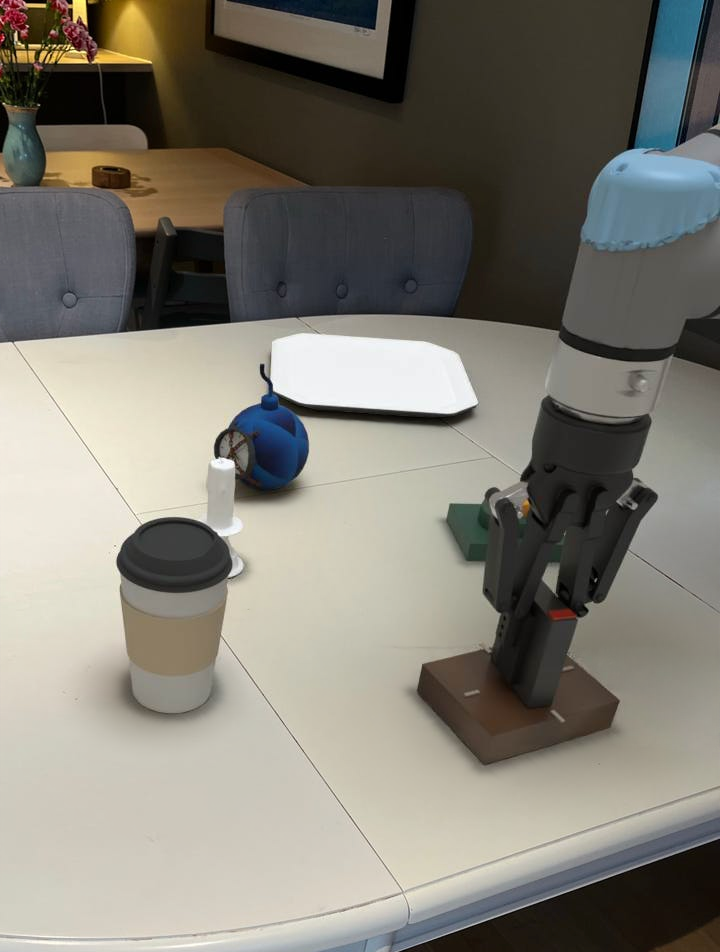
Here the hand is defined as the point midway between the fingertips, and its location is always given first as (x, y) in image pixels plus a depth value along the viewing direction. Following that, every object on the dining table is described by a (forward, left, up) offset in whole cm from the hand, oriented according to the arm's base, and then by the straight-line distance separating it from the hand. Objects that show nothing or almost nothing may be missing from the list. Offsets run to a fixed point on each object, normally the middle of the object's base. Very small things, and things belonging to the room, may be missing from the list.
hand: (522, 672), depth 82 cm
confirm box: (-8, -29, -4) cm, 30 cm away
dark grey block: (0, 0, -1) cm, 1 cm away
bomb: (+18, -41, -4) cm, 45 cm away
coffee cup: (+29, -3, -4) cm, 29 cm away
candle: (+24, -23, -4) cm, 33 cm away
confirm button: (-8, -29, 0) cm, 30 cm away
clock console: (0, 0, -4) cm, 4 cm away
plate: (-1, -75, -4) cm, 75 cm away
